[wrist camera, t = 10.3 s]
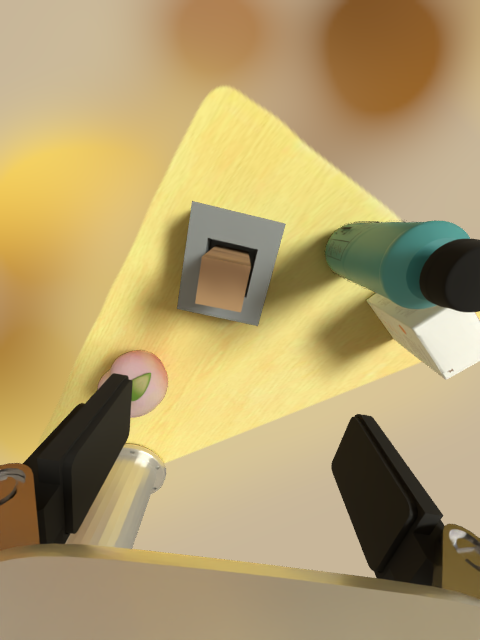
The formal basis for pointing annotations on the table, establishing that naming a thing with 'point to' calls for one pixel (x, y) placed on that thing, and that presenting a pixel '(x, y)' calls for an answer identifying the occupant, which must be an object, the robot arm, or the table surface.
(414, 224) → the beverage bottle
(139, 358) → the decorative fruit
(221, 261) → the walnut peg
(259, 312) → the socket block
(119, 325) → the table surface
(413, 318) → the small box
